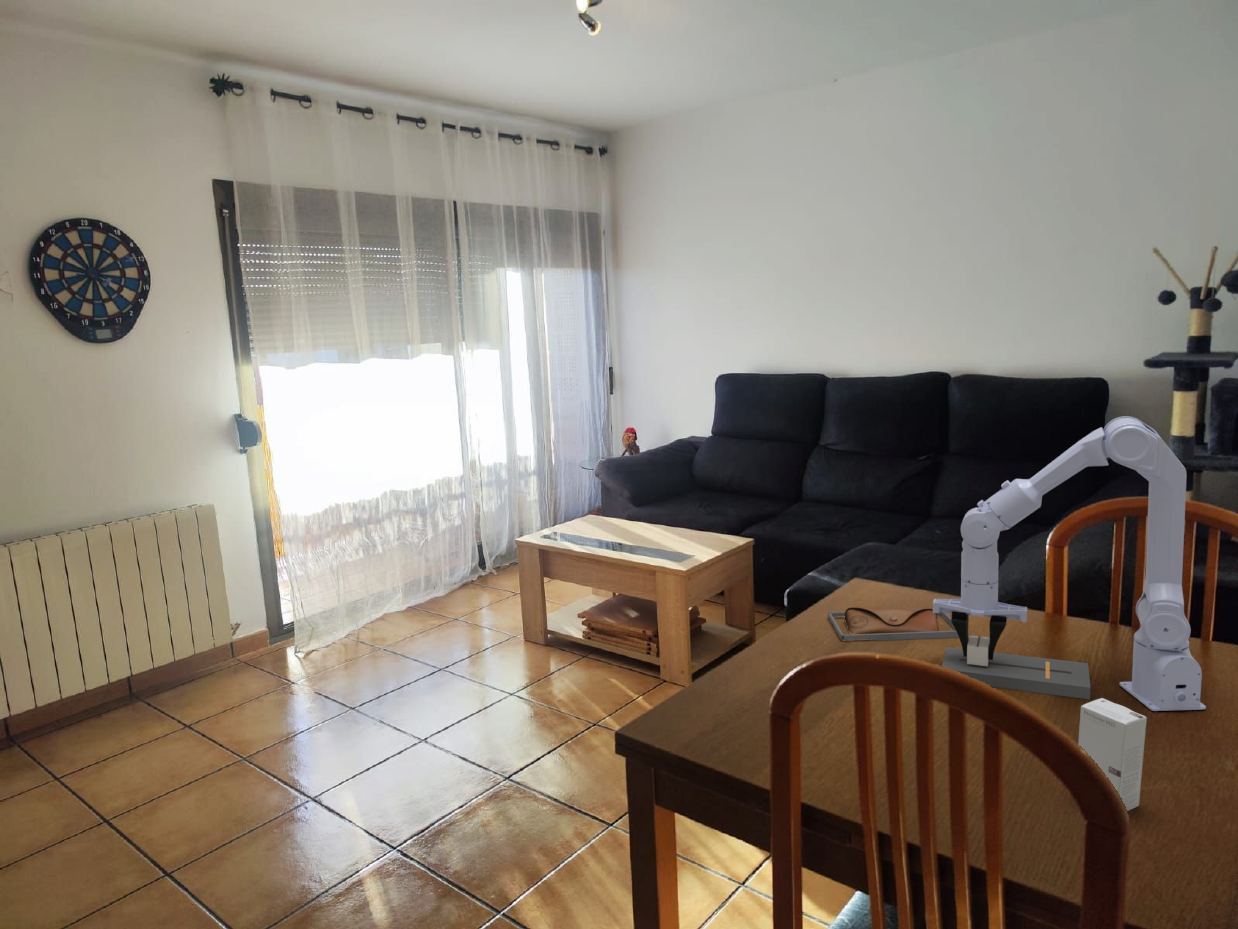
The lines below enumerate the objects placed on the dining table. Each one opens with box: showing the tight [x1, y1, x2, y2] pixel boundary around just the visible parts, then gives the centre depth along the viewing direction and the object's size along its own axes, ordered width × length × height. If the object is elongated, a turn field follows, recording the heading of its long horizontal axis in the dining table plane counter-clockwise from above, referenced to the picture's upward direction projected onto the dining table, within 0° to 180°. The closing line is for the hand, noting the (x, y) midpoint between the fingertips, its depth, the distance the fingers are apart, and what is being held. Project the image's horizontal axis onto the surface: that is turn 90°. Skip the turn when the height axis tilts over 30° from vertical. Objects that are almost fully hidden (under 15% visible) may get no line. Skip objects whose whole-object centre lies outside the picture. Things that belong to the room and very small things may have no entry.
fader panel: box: [941, 646, 1092, 701], centre depth 140 cm, size 22×10×2 cm, turn 63°
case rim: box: [827, 607, 959, 641], centre depth 165 cm, size 13×23×1 cm, turn 87°
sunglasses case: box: [844, 607, 940, 634], centre depth 164 cm, size 18×7×7 cm, turn 80°
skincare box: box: [1077, 697, 1148, 812], centre depth 104 cm, size 6×4×12 cm
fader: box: [967, 635, 990, 666], centre depth 142 cm, size 3×5×3 cm, turn 153°
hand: (978, 656), depth 142 cm, fingers closed on fader, 3 cm apart
